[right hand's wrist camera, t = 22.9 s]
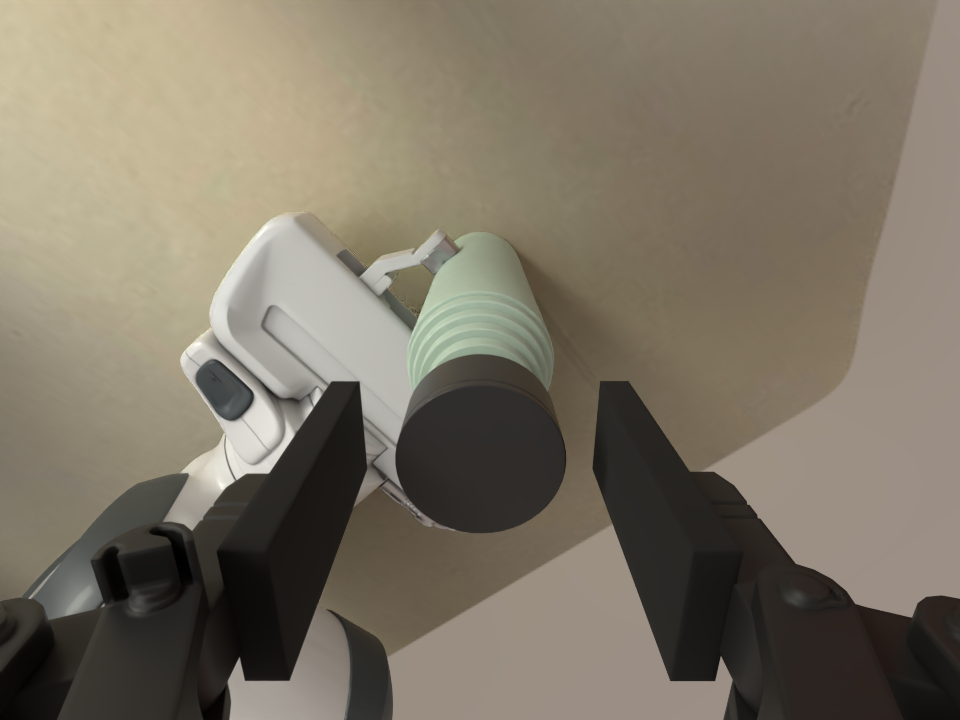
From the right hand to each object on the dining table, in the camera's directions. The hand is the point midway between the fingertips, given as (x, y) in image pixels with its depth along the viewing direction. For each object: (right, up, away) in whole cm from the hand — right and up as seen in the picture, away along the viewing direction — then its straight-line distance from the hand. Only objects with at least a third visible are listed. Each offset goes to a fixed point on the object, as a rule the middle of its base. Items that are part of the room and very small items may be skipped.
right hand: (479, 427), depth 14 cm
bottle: (0, +8, +20) cm, 21 cm away
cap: (0, -1, -2) cm, 2 cm away
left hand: (+1, +6, +14) cm, 15 cm away
